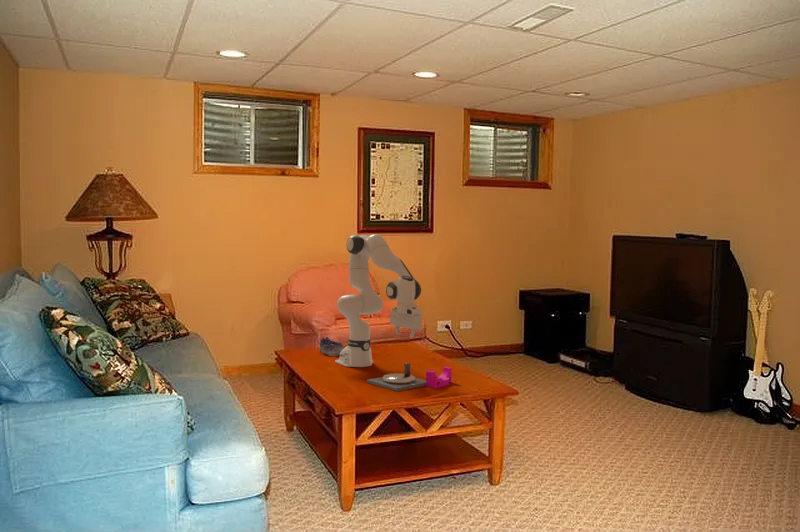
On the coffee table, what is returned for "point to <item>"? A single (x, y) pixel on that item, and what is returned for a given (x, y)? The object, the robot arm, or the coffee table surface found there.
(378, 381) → the dial plate
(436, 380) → the toy block
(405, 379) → the dial
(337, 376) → the coffee table surface
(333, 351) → the geode
